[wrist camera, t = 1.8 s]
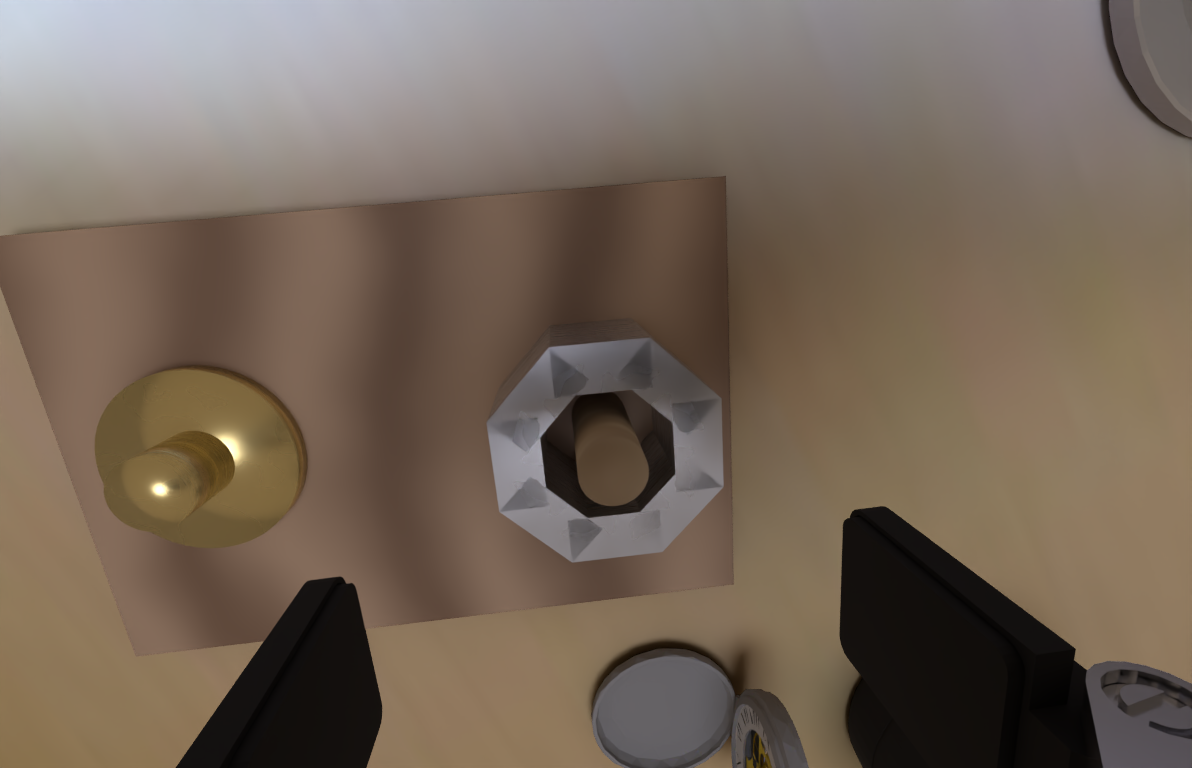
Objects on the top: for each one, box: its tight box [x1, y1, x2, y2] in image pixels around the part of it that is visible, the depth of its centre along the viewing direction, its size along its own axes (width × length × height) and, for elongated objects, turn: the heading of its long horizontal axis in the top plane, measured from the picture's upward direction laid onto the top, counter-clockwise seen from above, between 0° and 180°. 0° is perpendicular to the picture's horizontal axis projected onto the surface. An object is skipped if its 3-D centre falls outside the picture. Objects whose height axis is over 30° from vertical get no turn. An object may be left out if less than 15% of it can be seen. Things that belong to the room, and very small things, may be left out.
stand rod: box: [572, 392, 649, 506], centre depth 18 cm, size 2×2×5 cm
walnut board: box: [0, 176, 734, 656], centre depth 21 cm, size 24×16×1 cm, turn 95°
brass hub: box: [95, 365, 308, 548], centre depth 18 cm, size 7×7×3 cm
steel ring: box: [486, 318, 724, 563], centre depth 19 cm, size 7×7×4 cm
